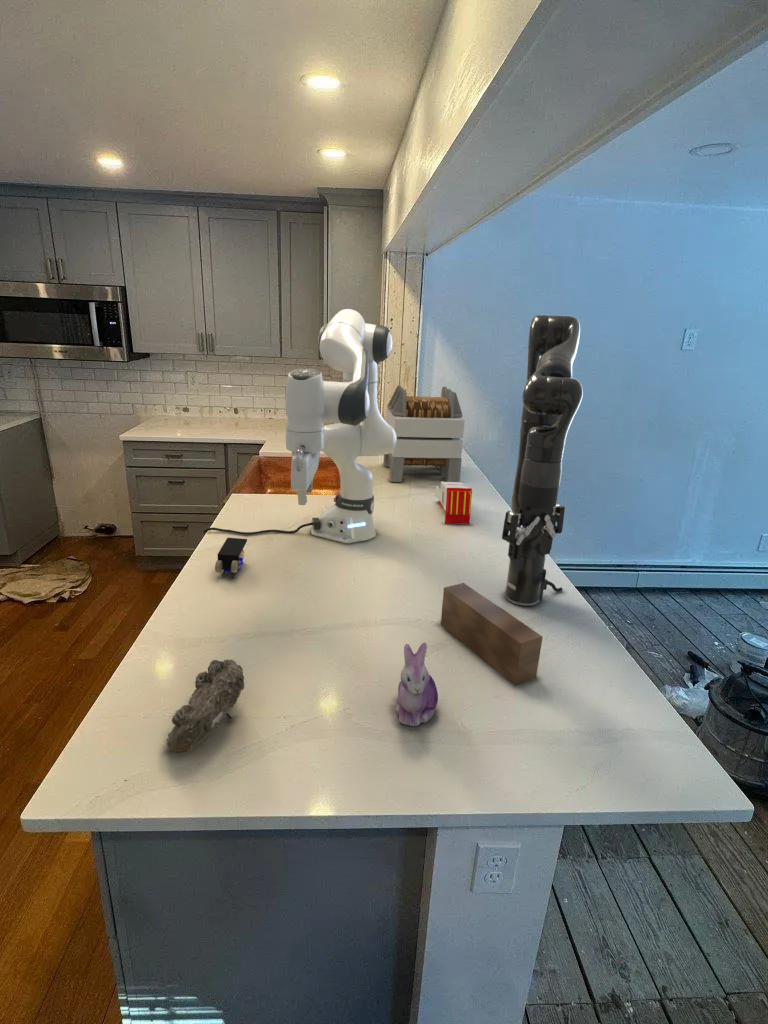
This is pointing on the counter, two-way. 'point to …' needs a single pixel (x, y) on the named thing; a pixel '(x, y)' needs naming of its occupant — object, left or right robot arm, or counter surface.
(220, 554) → the black wheeled vehicle
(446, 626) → the box
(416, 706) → the figurine
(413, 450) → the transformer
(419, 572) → the counter surface
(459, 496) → the toy
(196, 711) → the fossil
